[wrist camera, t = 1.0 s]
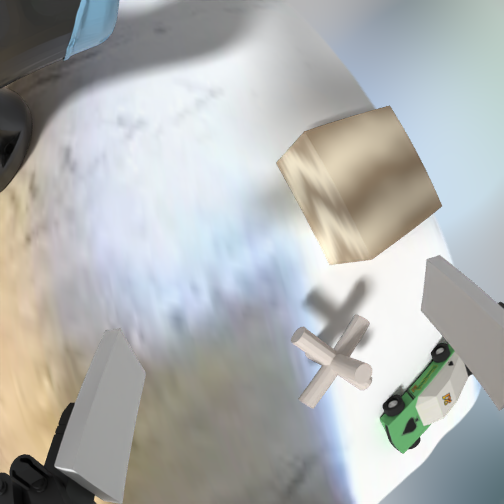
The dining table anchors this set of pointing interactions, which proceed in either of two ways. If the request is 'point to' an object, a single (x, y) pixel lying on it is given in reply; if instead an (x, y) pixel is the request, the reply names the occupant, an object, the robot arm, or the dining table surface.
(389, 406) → the toy car
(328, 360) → the pipe connector
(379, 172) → the birch block
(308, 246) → the dining table surface
